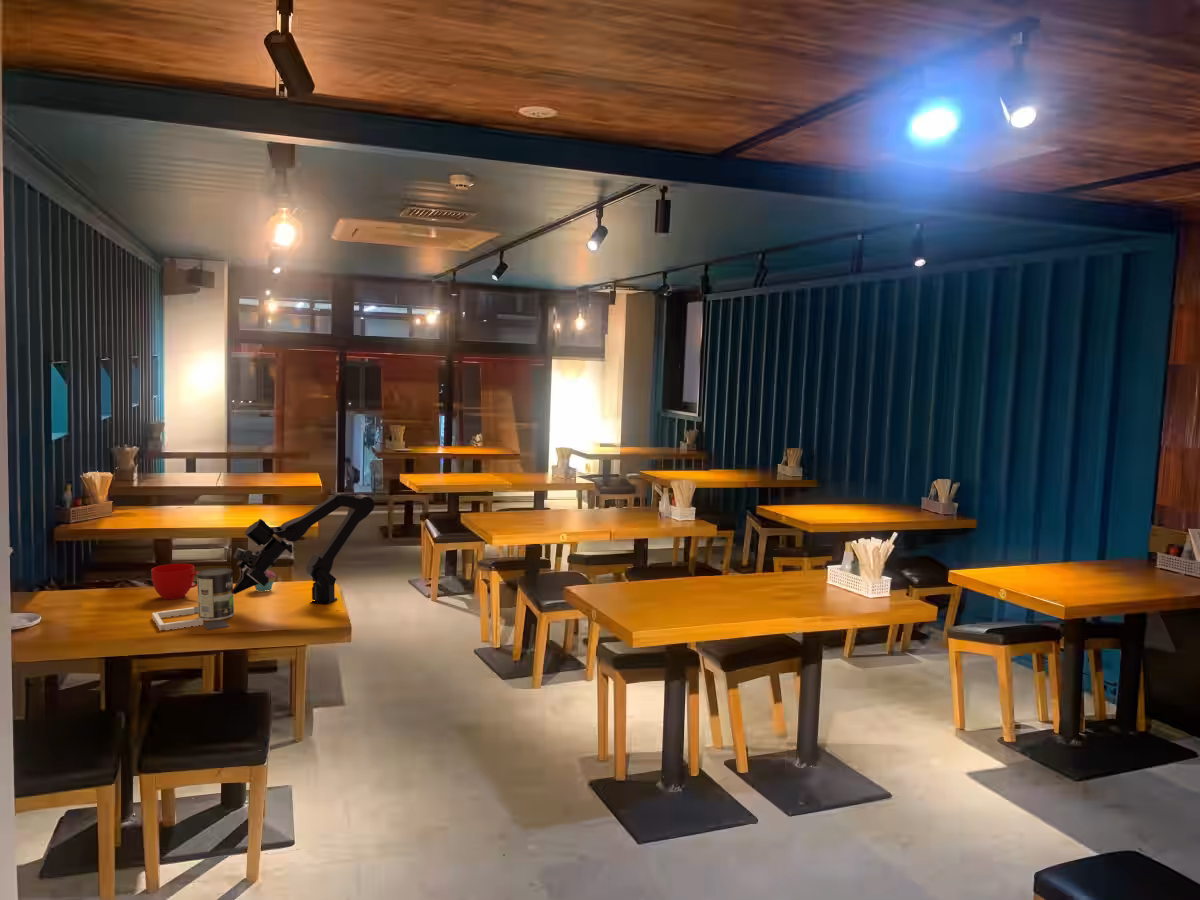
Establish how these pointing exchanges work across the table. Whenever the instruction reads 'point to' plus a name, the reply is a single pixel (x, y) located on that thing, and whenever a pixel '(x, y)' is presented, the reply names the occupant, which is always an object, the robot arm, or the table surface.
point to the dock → (175, 625)
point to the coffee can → (215, 594)
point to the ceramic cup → (173, 580)
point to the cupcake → (269, 585)
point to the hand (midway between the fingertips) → (233, 593)
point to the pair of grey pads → (213, 624)
